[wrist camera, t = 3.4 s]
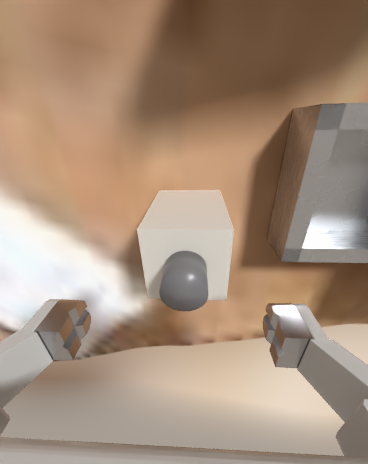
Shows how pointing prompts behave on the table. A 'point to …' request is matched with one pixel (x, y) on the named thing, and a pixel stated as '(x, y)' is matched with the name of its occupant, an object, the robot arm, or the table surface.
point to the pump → (186, 248)
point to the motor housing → (323, 187)
